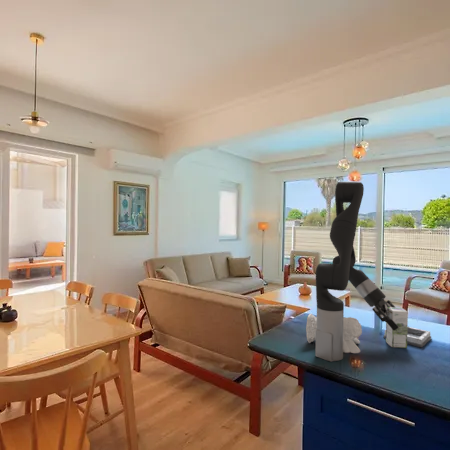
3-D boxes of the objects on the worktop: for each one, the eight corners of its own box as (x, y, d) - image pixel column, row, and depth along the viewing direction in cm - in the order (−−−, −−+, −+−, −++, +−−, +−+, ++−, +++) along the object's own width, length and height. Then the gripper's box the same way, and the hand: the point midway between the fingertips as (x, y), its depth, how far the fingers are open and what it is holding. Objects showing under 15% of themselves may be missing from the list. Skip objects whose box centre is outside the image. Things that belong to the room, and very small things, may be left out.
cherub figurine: (311, 310, 131) (361, 312, 122) (314, 339, 130) (365, 343, 121) (304, 317, 119) (359, 320, 110) (307, 349, 118) (363, 355, 109)
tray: (421, 347, 118) (421, 340, 118) (383, 337, 128) (383, 330, 128) (431, 338, 127) (431, 331, 127) (394, 330, 138) (395, 323, 138)
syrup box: (400, 342, 122) (400, 307, 122) (407, 348, 117) (408, 311, 117) (385, 342, 123) (385, 306, 123) (392, 348, 117) (392, 310, 117)
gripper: (370, 289, 120) (401, 325, 112) (383, 285, 130) (413, 317, 122) (356, 300, 124) (386, 336, 116) (370, 295, 134) (398, 327, 126)
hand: (400, 326), depth 119 cm, fingers open, 8 cm apart
